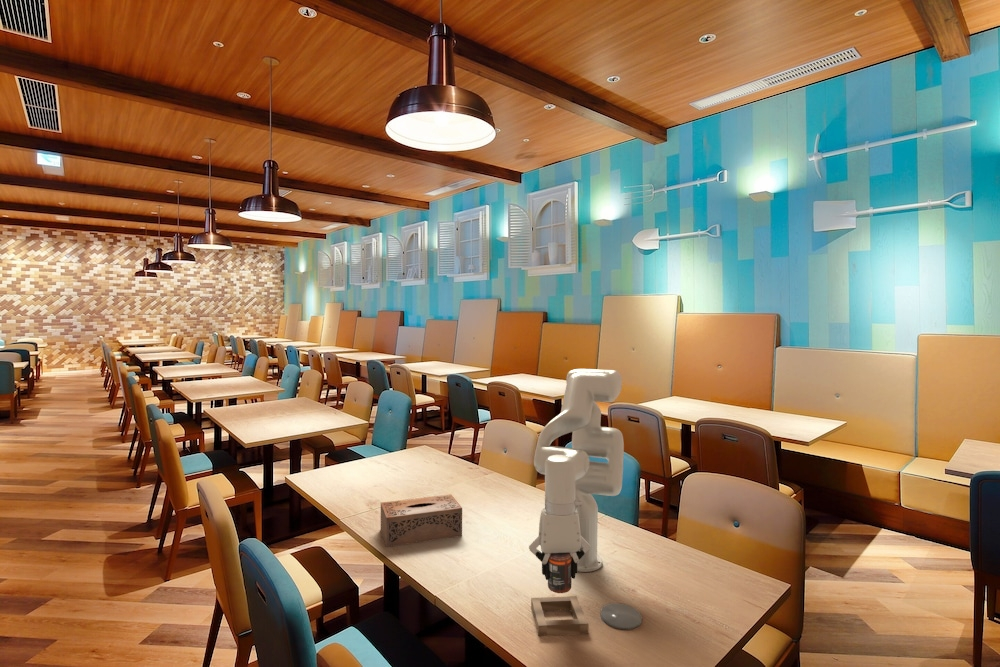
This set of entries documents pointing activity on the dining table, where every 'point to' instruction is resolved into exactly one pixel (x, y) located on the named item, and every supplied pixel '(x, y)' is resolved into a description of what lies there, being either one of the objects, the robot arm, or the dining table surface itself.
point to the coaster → (621, 616)
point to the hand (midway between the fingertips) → (559, 575)
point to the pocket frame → (559, 626)
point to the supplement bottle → (559, 572)
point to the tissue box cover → (420, 520)
